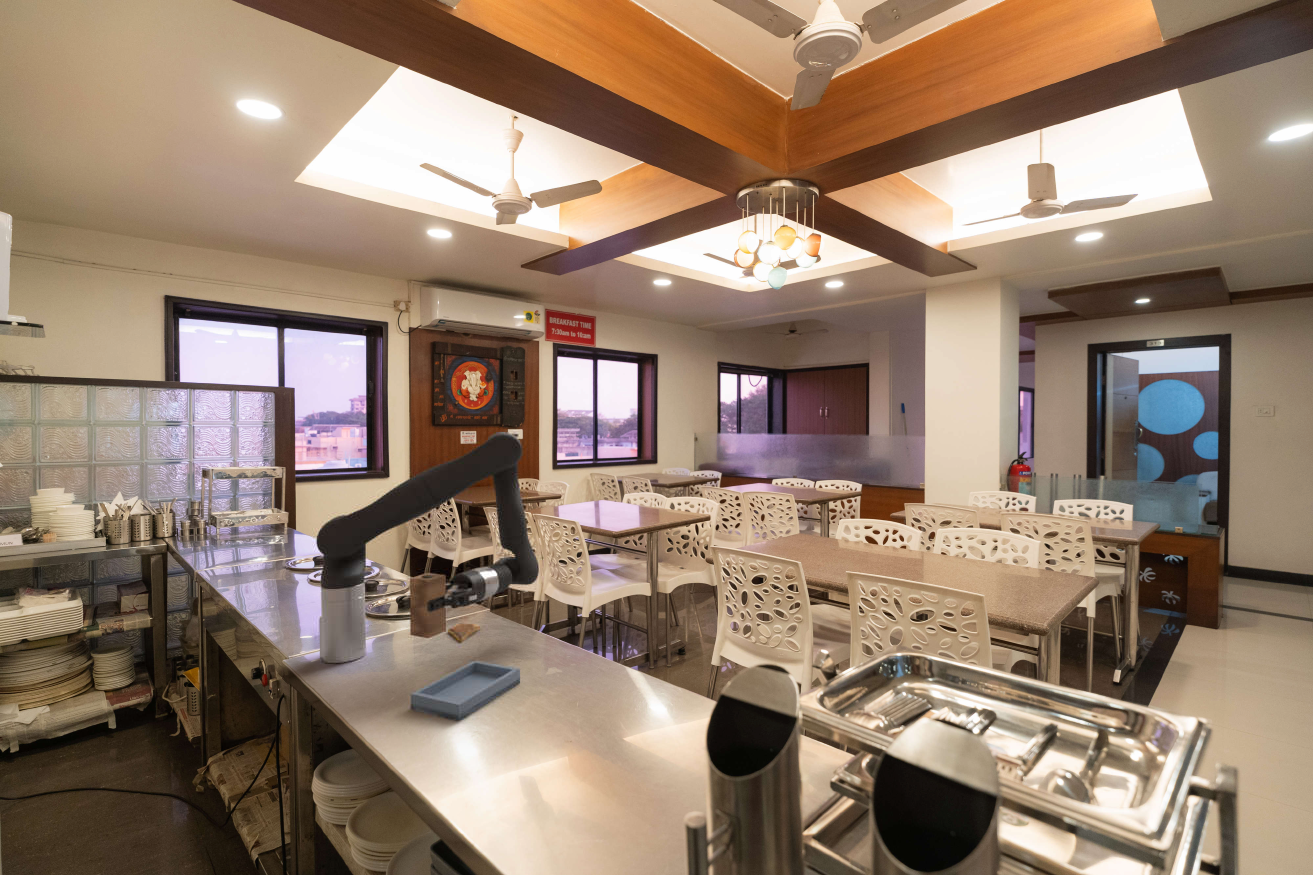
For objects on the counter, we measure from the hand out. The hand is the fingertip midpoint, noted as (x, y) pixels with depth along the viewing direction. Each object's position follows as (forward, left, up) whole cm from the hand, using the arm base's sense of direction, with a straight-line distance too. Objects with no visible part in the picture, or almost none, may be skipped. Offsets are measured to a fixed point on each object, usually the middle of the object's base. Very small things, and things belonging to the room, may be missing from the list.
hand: (418, 605), depth 126 cm
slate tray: (+12, +1, -17) cm, 21 cm away
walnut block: (0, +3, -7) cm, 7 cm away
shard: (-14, +30, -18) cm, 37 cm away
